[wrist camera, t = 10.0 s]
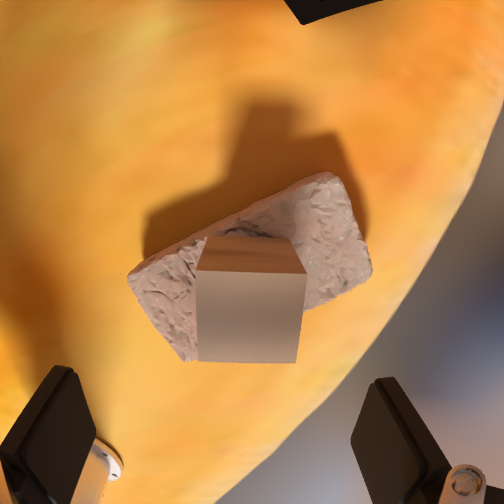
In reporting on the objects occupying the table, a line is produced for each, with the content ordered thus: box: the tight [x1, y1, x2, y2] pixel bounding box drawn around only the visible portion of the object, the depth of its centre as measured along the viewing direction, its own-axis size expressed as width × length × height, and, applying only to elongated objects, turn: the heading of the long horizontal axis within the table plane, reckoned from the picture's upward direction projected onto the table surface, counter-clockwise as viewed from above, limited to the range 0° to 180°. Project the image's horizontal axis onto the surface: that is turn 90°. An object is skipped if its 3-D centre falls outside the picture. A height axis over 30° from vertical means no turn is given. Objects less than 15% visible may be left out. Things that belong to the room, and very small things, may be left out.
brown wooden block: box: [195, 235, 307, 363], centre depth 18 cm, size 5×5×6 cm
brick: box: [127, 171, 373, 362], centre depth 23 cm, size 16×8×5 cm, turn 116°
